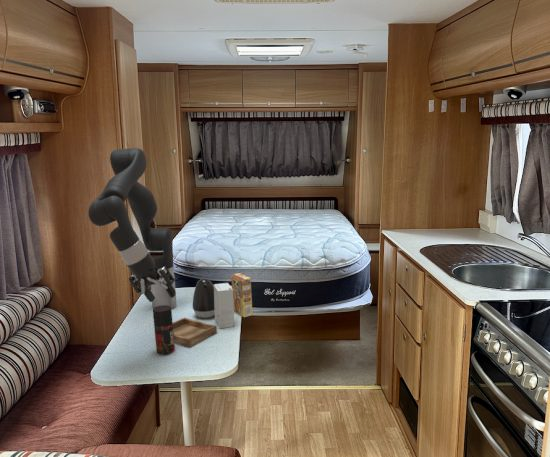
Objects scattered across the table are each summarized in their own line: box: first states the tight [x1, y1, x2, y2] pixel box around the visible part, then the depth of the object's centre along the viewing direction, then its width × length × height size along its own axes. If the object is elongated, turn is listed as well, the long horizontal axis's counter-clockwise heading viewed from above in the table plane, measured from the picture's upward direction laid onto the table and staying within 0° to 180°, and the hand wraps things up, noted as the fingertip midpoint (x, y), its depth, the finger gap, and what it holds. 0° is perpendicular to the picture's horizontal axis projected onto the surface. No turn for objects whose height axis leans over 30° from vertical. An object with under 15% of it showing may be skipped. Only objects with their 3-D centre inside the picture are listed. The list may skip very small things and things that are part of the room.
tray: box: [173, 317, 218, 349], centre depth 181 cm, size 16×14×3 cm
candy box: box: [230, 272, 253, 318], centre depth 199 cm, size 9×4×15 cm, turn 33°
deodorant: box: [152, 305, 176, 356], centre depth 168 cm, size 6×6×15 cm
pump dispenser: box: [192, 277, 215, 319], centre depth 198 cm, size 10×10×15 cm
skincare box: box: [213, 282, 235, 329], centre depth 189 cm, size 8×6×15 cm
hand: (163, 298), depth 160 cm, fingers open, 8 cm apart
